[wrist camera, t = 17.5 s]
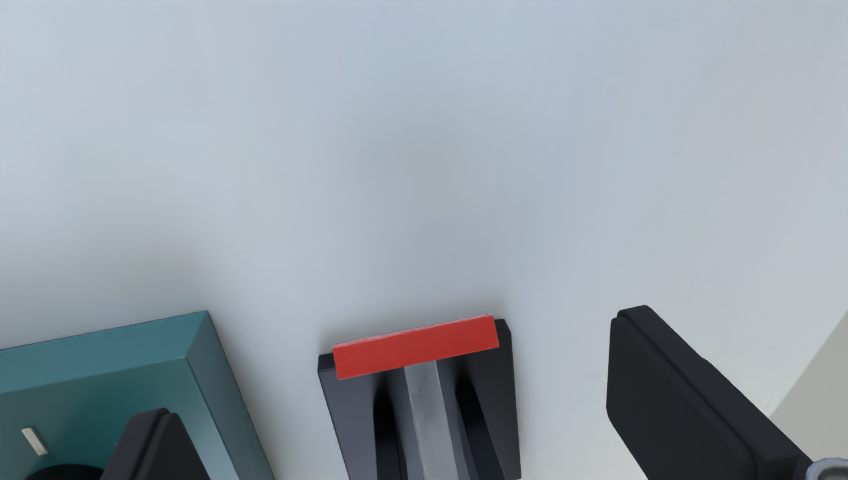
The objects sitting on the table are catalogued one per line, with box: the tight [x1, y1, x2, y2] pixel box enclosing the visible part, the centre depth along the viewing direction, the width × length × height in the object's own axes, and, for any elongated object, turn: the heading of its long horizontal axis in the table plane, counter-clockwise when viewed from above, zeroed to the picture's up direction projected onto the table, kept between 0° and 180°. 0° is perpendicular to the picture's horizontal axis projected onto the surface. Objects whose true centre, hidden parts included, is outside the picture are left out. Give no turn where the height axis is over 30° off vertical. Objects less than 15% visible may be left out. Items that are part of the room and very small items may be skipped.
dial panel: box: [0, 311, 274, 480], centre depth 22 cm, size 11×12×3 cm
